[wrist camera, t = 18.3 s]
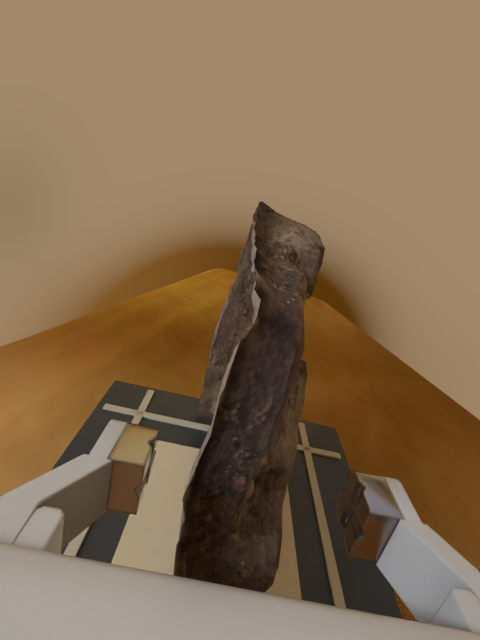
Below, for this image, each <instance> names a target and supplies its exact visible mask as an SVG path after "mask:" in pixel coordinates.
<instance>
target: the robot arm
mask: <svg viewBox="0 0 480 640" xmlns="http://www.w3.org/2000/svg"><path fill="white" fill-rule="evenodd" d="M159 433H160V430H159V429H155V428H150V427H146V426H142V425H138V424H133V423H128V422H124V421H119V420H115V419H112V420H111V421H109V423H108V424H107V426H106V428H105V429H104V431H103V432H102V434H101V436H100V437H99V439H98V441H97V442H96V444H95V445H94V447H93V449H92V450H91V452H90V453H89V455H87V454H83V455H81V456H79V457H77V458H75V459H73V460H71V461H69V462H67V463H65V464H63V465H61V466H59V467H57V468H55V469H53V470H51V471H49V472H47V473H45V474H43V475H41V476H39V477H37V478H35V479H33V480H31V481H29V482H27V483H25V484H23V485H21V486H19V487H18V488H16V489H14V490H12V491H10V492H8V493H6V494H4V495H2V496H1V497H0V640H480V572H479V571H478V570H477V569H476V568H475V567H474V566H473V565H472V564H471V563H469V562H468V561H467V560H466V559H465V558H464V557H463V556H462V555H461V554H459V553H458V552H457V551H456V550H455V549H454V548H453V547H452V546H450V545H449V544H448V543H447V542H446V541H445V540H444V539H443V538H442V537H440V536H439V535H438V534H437V533H436V532H435V531H434V530H433V529H432V528H430V527H429V526H428V525H427V524H422V522H421V520H420V518H419V516H418V514H417V512H416V510H415V508H414V506H413V505H412V503H411V501H410V499H409V497H408V495H407V493H406V491H405V489H404V487H403V485H402V483H401V482H400V481H399V480H398V479H394V478H388V477H383V476H382V477H381V476H376V475H371V474H366V473H361V472H357V471H351V472H350V473H349V474H348V476H347V478H346V482H347V485H348V486H347V487H346V488H344V489H342V490H341V492H340V494H339V497H338V501H337V516H338V520H339V523H340V524H341V525H342V526H343V527H344V529H345V532H344V534H343V539H344V542H345V546H346V550H347V553H348V557H350V558H355V559H359V560H363V561H368V562H372V563H376V566H377V567H378V568H379V570H380V571H381V573H382V574H383V575H384V577H385V578H386V579H387V581H388V582H389V583H390V585H391V586H392V588H393V589H394V590H395V592H396V593H397V594H398V596H399V597H400V598H401V600H402V601H403V602H404V604H405V605H406V607H407V608H408V609H409V611H410V612H411V613H412V615H413V616H414V617H415V619H416V620H417V622H416V621H411V620H405V619H400V618H395V617H390V616H384V615H379V614H374V613H369V612H364V611H358V610H353V609H348V608H343V607H337V606H332V605H327V604H322V603H317V602H311V601H306V600H301V599H295V598H290V597H285V596H280V595H274V594H269V593H264V592H259V591H253V590H248V589H243V588H238V587H232V586H227V585H222V584H217V583H211V582H206V581H201V580H196V579H190V578H185V577H180V576H175V575H169V574H164V573H159V572H154V571H148V570H143V569H138V568H133V567H127V566H122V565H117V564H111V563H106V562H101V561H96V560H90V559H85V558H80V557H75V556H69V555H64V554H61V549H62V548H63V547H64V546H66V545H67V544H68V543H69V542H70V541H72V540H73V539H74V538H75V537H76V536H78V535H79V534H80V533H81V532H83V531H84V530H85V529H86V528H87V527H89V526H90V525H91V524H92V523H93V522H95V521H96V520H97V519H98V518H99V517H101V516H102V515H103V514H104V513H105V512H106V510H109V511H115V512H121V513H127V514H133V515H136V514H137V512H138V509H139V506H140V503H141V501H142V498H143V494H144V489H145V485H146V484H148V481H149V478H150V475H151V471H152V468H153V464H154V460H155V455H156V451H155V448H156V445H157V443H158V439H159Z"/></svg>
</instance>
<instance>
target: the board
mask: <svg viewBox="0 0 480 640" xmlns="http://www.w3.org/2000/svg"><path fill="white" fill-rule="evenodd" d="M199 401H200V399H198V398H194V397H189V396H185V395H180V394H175V393H171V392H166V391H161V390H157V389H152V388H148V387H143V386H138V385H134V384H129V383H125V382H120V381H115V382H114V383H113V384H112V386H111V387H110V389H109V390H108V391H107V393H106V394H105V396H104V397H103V398H102V400H101V401H100V403H99V404H98V405H97V407H96V408H95V410H94V411H93V412H92V414H91V415H90V417H89V418H88V419H87V421H86V422H85V424H84V425H83V426H82V428H81V429H80V431H79V432H78V433H77V435H76V436H75V438H74V439H73V440H72V442H71V443H70V445H69V446H68V447H67V449H66V450H65V452H64V453H63V454H62V456H61V457H60V459H59V460H58V461H57V463H56V464H55V466H54V467H53V468H52V470H53V469H55V468H57V467H59V466H61V465H63V464H65V463H67V462H69V461H71V460H73V459H75V458H77V457H79V456H81V455H83V454H87V455H89V453H90V452H91V450H92V449H93V447H94V445H95V444H96V442H97V441H98V439H99V437H100V436H101V434H102V432H103V431H104V429H105V428H106V426H107V424H108V423H109V421H111V420H112V419H115V420H119V421H124V422H128V423H133V424H138V425H142V426H146V427H150V428H155V429H159V430H160V433H159V439H158V443H157V445H156V448H155V451H156V455H155V460H154V464H153V468H152V471H151V475H150V478H149V481H148V484H146V485H145V489H144V494H143V498H142V501H141V503H140V506H139V509H138V512H137V514H136V515H133V514H127V513H121V512H115V511H109V510H106V512H105V513H104V514H103V515H102V516H101V517H99V518H98V519H97V520H96V521H95V522H93V523H92V524H91V525H90V526H89V527H87V528H86V529H85V530H84V531H83V532H81V533H80V534H79V535H78V536H76V537H75V538H74V539H73V540H72V541H70V542H69V543H68V544H67V545H66V546H64V547H63V548H62V549H61V554H64V555H69V556H75V557H80V558H85V559H90V560H96V561H101V562H106V563H111V564H117V565H122V566H127V567H133V568H138V569H143V570H148V571H154V572H159V573H164V574H169V575H174V564H175V553H176V545H177V543H178V540H179V532H180V524H181V516H182V508H183V501H182V498H183V495H184V492H185V486H186V485H187V482H188V479H189V476H190V473H191V469H192V466H193V463H194V461H195V459H196V457H197V455H198V453H199V450H200V448H201V446H202V444H203V442H204V440H205V437H206V435H207V433H208V430H209V428H210V426H211V423H212V421H213V416H214V414H213V413H208V412H203V411H198V406H199ZM350 472H351V471H350V469H349V466H348V463H347V460H346V457H345V454H344V452H343V449H342V446H341V443H340V440H339V437H338V435H337V432H336V429H335V428H332V427H327V426H323V425H318V424H314V423H309V422H304V421H300V420H299V426H298V443H297V452H296V456H295V460H294V463H293V469H292V472H291V475H290V478H289V480H288V485H287V491H286V495H285V498H284V502H283V508H282V543H281V551H280V560H279V567H278V570H277V572H276V575H275V579H274V583H273V585H272V586H271V587H270V588H269V589H268V590H267V591H266V592H265V593H269V594H274V595H280V596H285V597H290V598H295V599H301V600H306V601H311V602H317V603H322V604H327V605H332V606H337V607H343V608H348V609H353V610H358V611H364V612H369V613H374V614H379V615H384V616H390V617H395V618H400V619H403V618H402V616H401V613H400V610H399V607H398V604H397V602H396V599H395V596H394V593H393V590H392V587H391V585H390V583H389V582H388V581H387V579H386V578H385V577H384V575H383V574H382V573H381V571H380V570H379V568H378V567H377V566H376V563H372V562H368V561H363V560H359V559H355V558H350V557H348V553H347V550H346V546H345V542H344V539H343V534H344V532H345V529H344V527H343V526H342V525H341V524H340V523H339V520H338V516H337V501H338V497H339V494H340V492H341V490H342V489H344V488H346V487H347V486H348V485H347V482H346V478H347V476H348V474H349V473H350Z"/></svg>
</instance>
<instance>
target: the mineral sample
mask: <svg viewBox="0 0 480 640" xmlns="http://www.w3.org/2000/svg"><path fill="white" fill-rule="evenodd" d="M324 250H325V248H324V246H323V244H322V242H321V239H320V236H319V235H318V234H317V233H316V231H313V230H312V229H310V228H309V227H307V226H306V225H304V224H301V223H299V222H296V221H293V220H291V219H289V218H287V217H284V216H283V215H281V214H279V213H277V212H275V211H274V210H273V209H271V208H270V207H269V206H267V205H266V204H265V203H263V202H259V205H258V207H257V209H256V212H255V214H253V224H252V225H251V228H250V232H249V235H248V240H247V243H246V247H245V250H243V249H242V250H241V254H240V259H239V263H238V273H237V277H236V280H235V282H234V283H233V285H232V286H231V287H230V289H229V293H228V296H227V300H226V302H225V303H224V308H223V309H222V310H221V316H220V319H219V320H218V323H217V327H216V329H215V332H214V335H213V339H212V344H211V349H210V354H209V359H208V365H207V370H206V376H205V381H204V386H203V390H202V394H201V397H200V401H199V406H198V411H203V412H208V413H213V414H214V416H213V421H212V423H211V426H210V428H209V430H208V433H207V435H206V437H205V440H204V442H203V444H202V446H201V448H200V450H199V453H198V455H197V457H196V459H195V461H194V463H193V466H192V469H191V473H190V476H189V479H188V482H187V485H186V486H185V492H184V495H183V498H182V501H183V508H182V516H181V524H180V532H179V540H178V543H177V545H176V553H175V564H174V575H175V576H180V577H185V578H190V579H196V580H201V581H206V582H211V583H217V584H222V585H227V586H232V587H238V588H243V589H248V590H253V591H259V592H264V593H265V592H266V591H267V590H268V589H269V588H270V587H271V586H272V585H273V583H274V579H275V575H276V572H277V570H278V567H279V560H280V551H281V543H282V508H283V502H284V498H285V495H286V491H287V485H288V480H289V478H290V475H291V472H292V469H293V463H294V460H295V456H296V452H297V443H298V426H299V419H300V416H301V412H302V408H303V404H304V395H305V387H306V379H307V368H306V362H304V361H303V360H301V357H302V353H303V350H304V311H303V310H304V305H305V301H306V299H308V298H309V297H310V296H311V295H312V293H313V291H314V287H315V284H316V282H317V277H318V272H319V270H320V267H321V265H322V259H323V256H324Z"/></svg>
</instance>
